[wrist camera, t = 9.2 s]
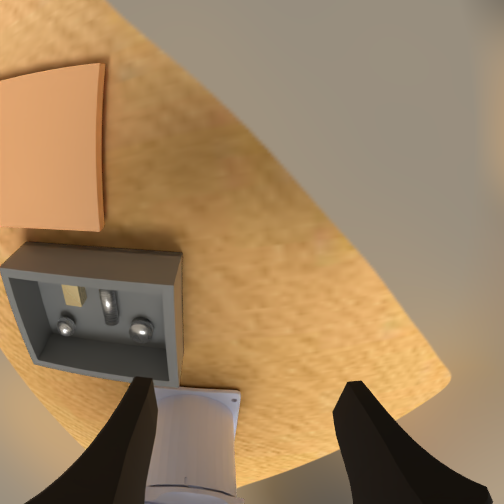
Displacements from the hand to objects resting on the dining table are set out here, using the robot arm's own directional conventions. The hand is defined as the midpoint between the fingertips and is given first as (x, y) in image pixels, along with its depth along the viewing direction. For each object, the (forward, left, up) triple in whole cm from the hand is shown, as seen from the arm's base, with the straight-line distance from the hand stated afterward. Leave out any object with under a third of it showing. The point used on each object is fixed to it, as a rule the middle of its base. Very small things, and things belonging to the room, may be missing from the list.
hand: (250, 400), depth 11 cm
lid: (+7, +14, -9) cm, 18 cm away
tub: (-3, +9, -9) cm, 13 cm away
